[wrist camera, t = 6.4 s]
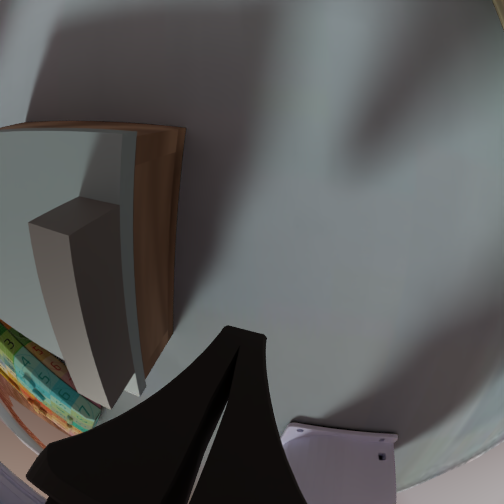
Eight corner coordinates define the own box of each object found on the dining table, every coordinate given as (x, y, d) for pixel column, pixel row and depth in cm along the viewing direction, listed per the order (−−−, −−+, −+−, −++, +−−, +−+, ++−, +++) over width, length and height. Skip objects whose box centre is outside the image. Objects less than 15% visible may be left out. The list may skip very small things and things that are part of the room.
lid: (137, 131, 8) (64, 147, 5) (146, 386, 14) (120, 431, 11) (-29, 132, 9) (-72, 146, 6) (4, 310, 15) (-24, 335, 12)
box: (186, 127, 12) (137, 136, 8) (173, 333, 18) (145, 379, 14) (24, 122, 13) (-24, 134, 10) (40, 280, 19) (7, 307, 15)
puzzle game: (83, 449, 25) (-28, 349, 24) (99, 423, 29) (-8, 330, 28) (90, 427, 20) (-45, 295, 18) (113, 392, 24) (-18, 274, 22)
